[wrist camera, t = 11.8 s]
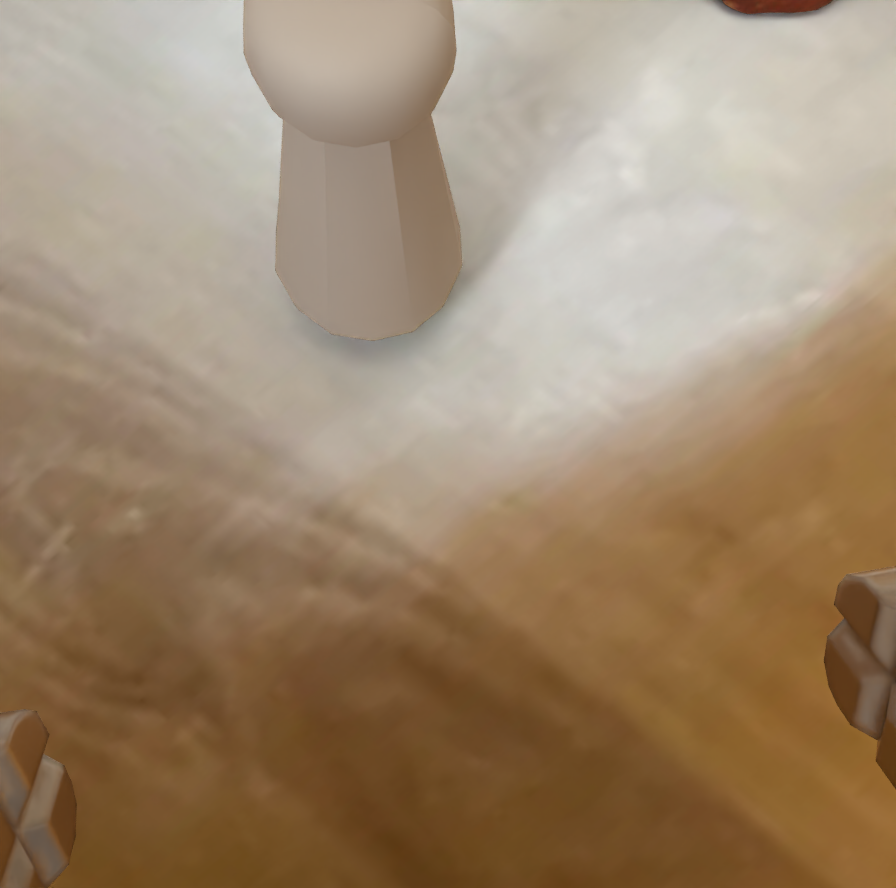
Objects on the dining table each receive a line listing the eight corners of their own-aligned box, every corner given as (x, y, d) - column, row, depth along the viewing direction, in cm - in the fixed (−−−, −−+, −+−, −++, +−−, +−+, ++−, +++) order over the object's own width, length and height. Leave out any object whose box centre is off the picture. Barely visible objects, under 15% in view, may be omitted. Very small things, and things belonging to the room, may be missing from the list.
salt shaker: (360, 398, 28) (320, 180, 15) (250, 274, 28) (124, -31, 16) (493, 290, 29) (560, 3, 16) (383, 174, 30) (365, -185, 17)
